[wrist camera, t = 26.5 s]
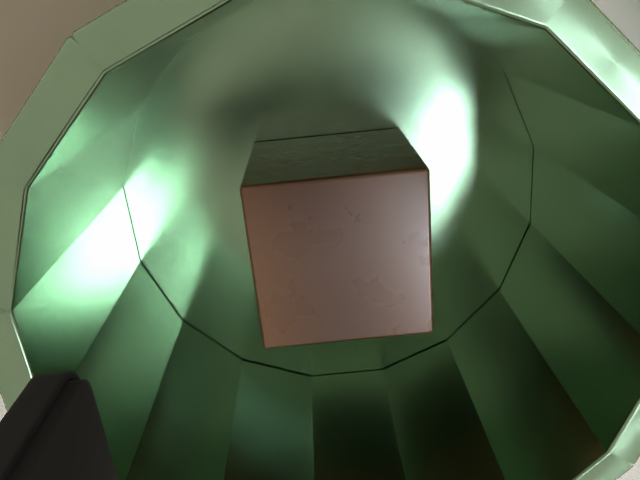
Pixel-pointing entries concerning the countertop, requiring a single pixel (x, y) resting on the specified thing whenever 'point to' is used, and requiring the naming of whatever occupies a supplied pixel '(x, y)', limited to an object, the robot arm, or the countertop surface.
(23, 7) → the countertop surface
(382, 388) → the pot
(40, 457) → the robot arm
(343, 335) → the block
